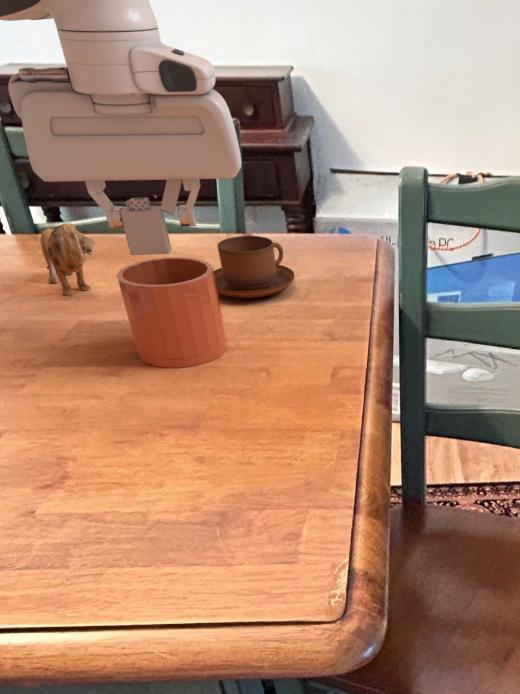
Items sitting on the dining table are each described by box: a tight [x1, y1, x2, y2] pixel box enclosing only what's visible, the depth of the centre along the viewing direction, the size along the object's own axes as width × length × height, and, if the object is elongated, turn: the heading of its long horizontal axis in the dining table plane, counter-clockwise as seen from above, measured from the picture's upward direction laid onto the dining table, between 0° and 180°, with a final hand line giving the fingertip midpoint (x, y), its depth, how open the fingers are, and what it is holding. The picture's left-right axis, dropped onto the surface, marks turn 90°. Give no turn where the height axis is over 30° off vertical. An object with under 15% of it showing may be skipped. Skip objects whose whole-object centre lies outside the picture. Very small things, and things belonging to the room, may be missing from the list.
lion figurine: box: [39, 222, 95, 296], centre depth 101 cm, size 15×5×9 cm, turn 45°
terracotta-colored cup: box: [116, 256, 228, 369], centre depth 85 cm, size 10×10×9 cm
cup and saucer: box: [214, 235, 295, 299], centre depth 101 cm, size 12×12×6 cm
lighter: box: [120, 179, 183, 256], centre depth 78 cm, size 7×2×8 cm, turn 100°
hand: (154, 226), depth 79 cm, fingers closed on lighter, 6 cm apart
